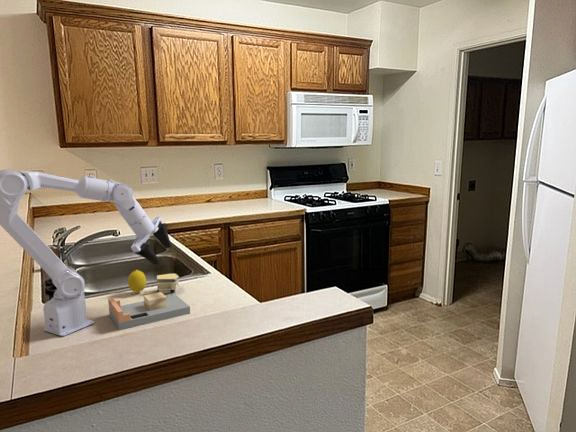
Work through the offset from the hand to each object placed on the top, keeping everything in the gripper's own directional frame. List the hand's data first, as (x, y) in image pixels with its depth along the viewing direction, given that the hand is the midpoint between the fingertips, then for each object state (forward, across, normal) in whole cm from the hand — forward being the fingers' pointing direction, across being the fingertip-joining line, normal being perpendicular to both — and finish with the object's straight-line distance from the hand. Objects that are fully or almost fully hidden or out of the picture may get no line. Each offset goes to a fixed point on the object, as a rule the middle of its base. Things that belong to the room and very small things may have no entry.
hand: (163, 255), depth 126 cm
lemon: (+11, -2, +18) cm, 21 cm away
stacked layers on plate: (+16, +2, +10) cm, 19 cm away
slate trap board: (+9, -15, +4) cm, 18 cm away
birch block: (+9, -12, +2) cm, 15 cm away
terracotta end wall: (+4, -19, +7) cm, 20 cm away
